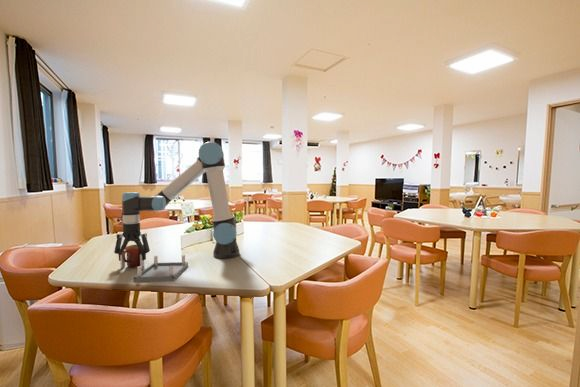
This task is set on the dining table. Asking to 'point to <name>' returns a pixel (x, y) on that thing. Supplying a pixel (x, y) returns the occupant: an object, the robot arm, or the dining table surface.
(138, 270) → the tray
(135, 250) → the mug
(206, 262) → the dining table surface
